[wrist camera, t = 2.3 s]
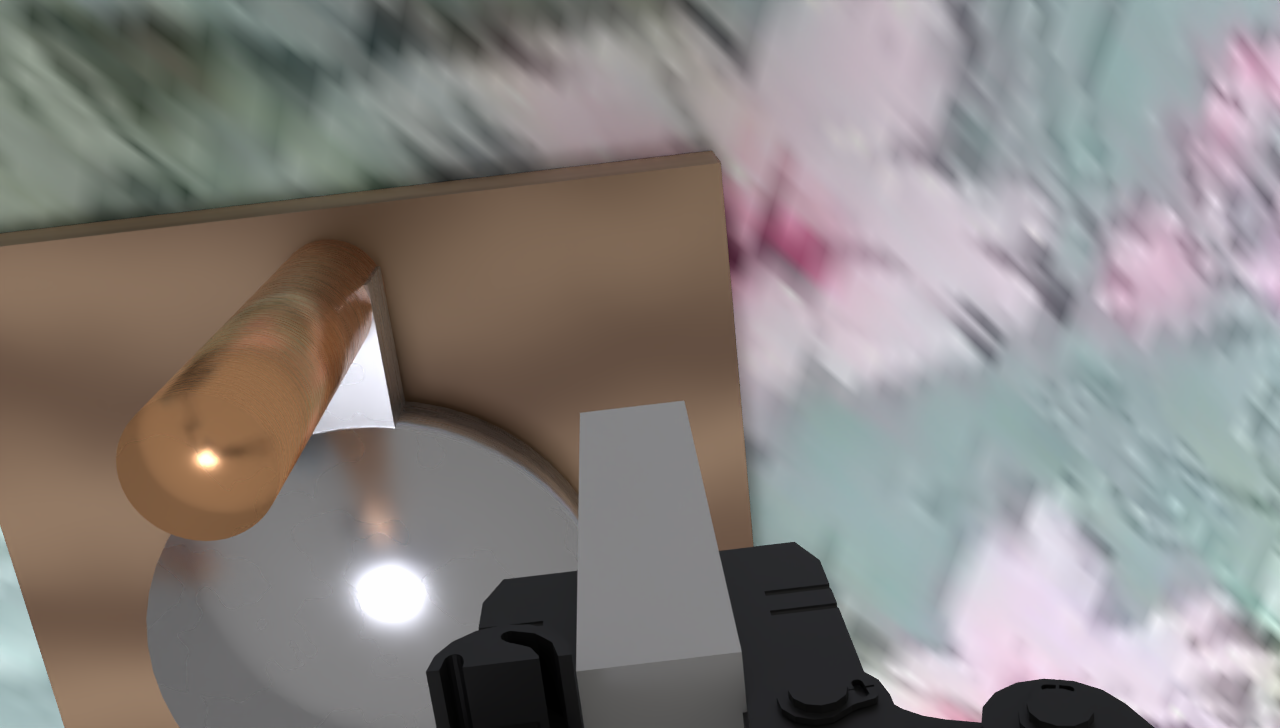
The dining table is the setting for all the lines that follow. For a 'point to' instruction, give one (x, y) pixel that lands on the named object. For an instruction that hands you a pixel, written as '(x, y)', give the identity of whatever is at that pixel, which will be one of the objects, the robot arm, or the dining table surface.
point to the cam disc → (324, 513)
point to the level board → (424, 342)
